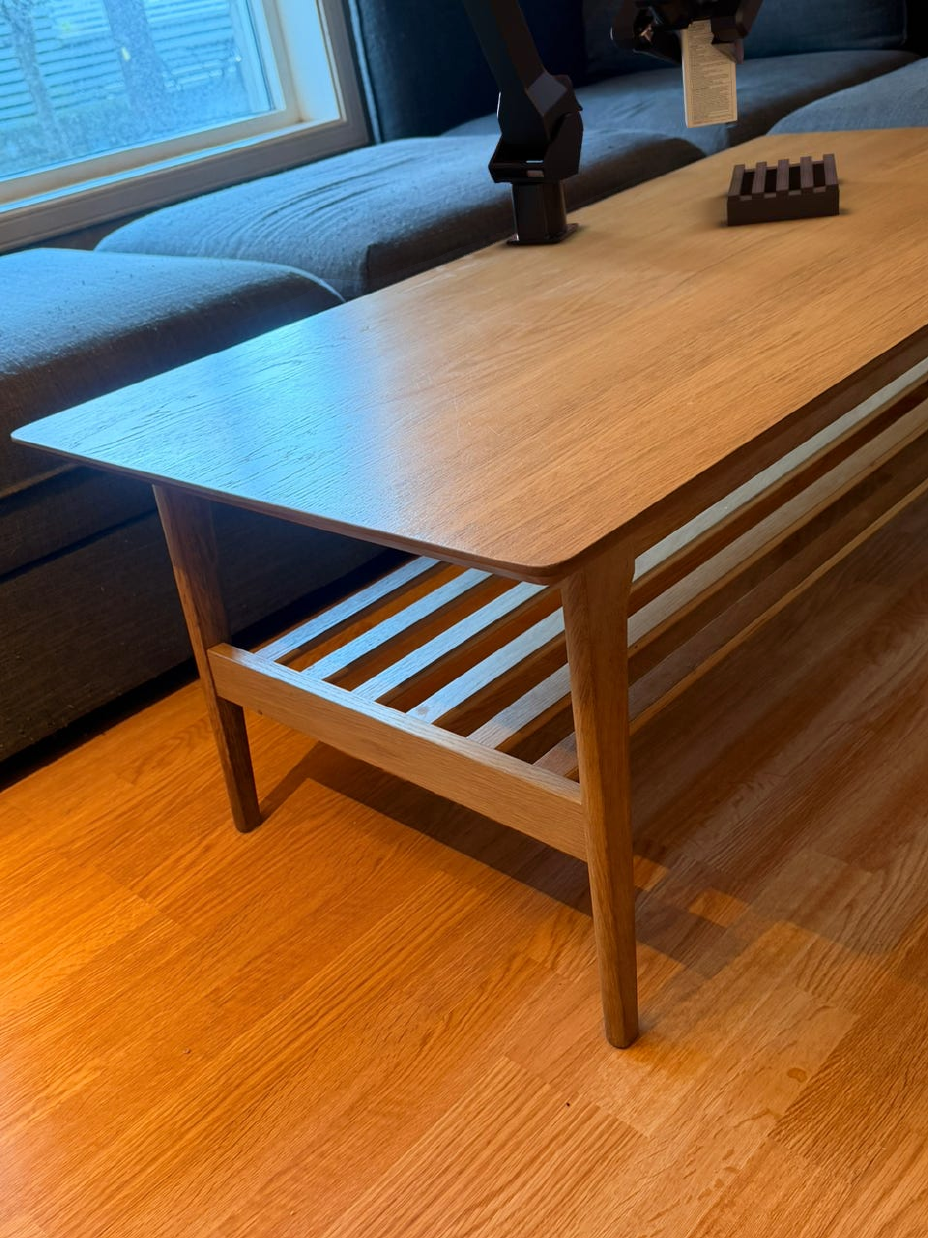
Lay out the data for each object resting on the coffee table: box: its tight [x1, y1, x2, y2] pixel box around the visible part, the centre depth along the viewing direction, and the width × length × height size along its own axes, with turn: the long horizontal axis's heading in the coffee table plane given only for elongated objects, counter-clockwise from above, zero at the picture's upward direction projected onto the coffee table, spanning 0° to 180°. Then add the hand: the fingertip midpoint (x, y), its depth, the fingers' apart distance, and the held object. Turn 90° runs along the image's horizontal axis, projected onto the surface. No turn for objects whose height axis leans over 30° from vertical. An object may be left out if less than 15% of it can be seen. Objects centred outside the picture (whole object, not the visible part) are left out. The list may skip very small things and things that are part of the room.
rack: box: [726, 152, 841, 227], centre depth 121 cm, size 16×11×3 cm
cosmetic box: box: [679, 20, 738, 129], centre depth 138 cm, size 6×4×12 cm
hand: (715, 62), depth 138 cm, fingers closed on cosmetic box, 7 cm apart
